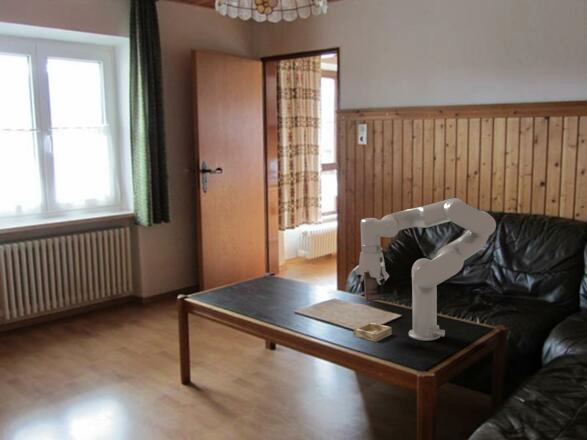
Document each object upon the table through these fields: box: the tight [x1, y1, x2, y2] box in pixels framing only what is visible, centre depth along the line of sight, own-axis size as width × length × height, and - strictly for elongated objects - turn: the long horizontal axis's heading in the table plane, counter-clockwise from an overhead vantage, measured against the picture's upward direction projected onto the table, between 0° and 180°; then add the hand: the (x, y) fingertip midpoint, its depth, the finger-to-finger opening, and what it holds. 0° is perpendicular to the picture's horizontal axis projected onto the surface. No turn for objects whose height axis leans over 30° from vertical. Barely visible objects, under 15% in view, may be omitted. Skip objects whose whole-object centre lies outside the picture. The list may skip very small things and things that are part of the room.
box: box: [364, 272, 382, 302], centre depth 245 cm, size 6×4×12 cm
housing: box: [353, 321, 393, 343], centre depth 248 cm, size 11×11×3 cm
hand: (372, 291), depth 245 cm, fingers closed on box, 6 cm apart
